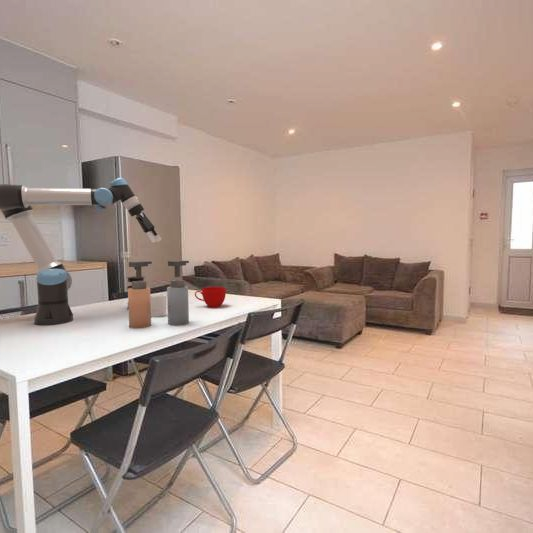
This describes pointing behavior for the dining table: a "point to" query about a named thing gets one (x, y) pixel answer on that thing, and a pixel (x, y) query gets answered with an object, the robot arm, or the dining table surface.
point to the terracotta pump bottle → (139, 305)
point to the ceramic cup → (213, 296)
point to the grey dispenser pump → (139, 267)
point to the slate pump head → (177, 266)
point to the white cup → (158, 305)
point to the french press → (133, 279)
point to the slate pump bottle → (178, 303)
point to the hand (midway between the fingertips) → (157, 241)
